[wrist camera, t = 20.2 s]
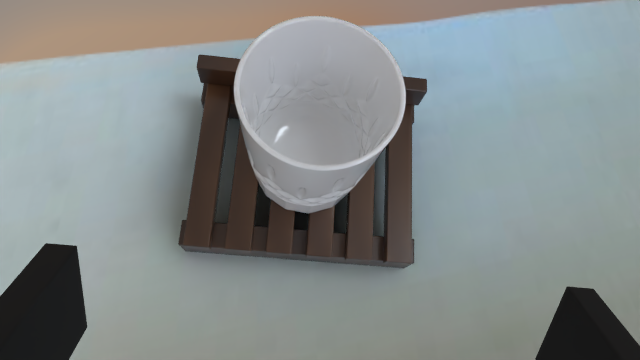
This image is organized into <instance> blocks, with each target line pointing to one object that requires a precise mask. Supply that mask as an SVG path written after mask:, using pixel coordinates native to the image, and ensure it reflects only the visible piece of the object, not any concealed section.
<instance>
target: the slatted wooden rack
mask: <svg viewBox="0 0 640 360" xmlns="http://www.w3.org/2000/svg"><path fill="white" fill-rule="evenodd" d="M240 60H241V59H236V58H226V57H217V56H208V55H199V56H198V62H197V70H198V74H199V77H200V81H201V83H204V86H203V92H202V98H201V101H202V105H203V108H204V110H203V117H202V123H201V130H200V136H199V143H198V149H197V156H196V162H195V169H194V175H193V182H192V188H191V194H190V201H189V207H188V214H187V220H182V225H181V232H180V238H179V245H180V246H181V247H182V248H183V249H184V250H185V251H191V252H203V253H216V254H229V255H242V256H254V257H267V258H280V259H293V260H305V261H318V262H331V263H344V264H357V265H369V266H382V267H395V268H405V267H407V266H409V265H411V264H413V263H414V239H412V124H413V123H414V105H419V103H420V102H421V100H422V99H423V97H424V95H425V94H426V92H427V80H426V79H420V78H411V77H403V79H404V84H405V91H406V104H405V111H404V115H403V119H402V121H401V124H400V126H399V128H398V130H397V132H396V134H395V135H394V137H393V138H392V140H391V141H390V142H389V143H388V145H387V146H386V153H385V201H384V237H383V236H373V212H374V176H375V162H374V163H373V165H372V166H371V167H370V169H369V170H368V171H367V173H366V174H365V175H364V176H363V177H362V179H361V180H360V181H359V182H358V183H357V184H356V186H355V187H354V188H353V189H352V190H351V191H350V192H349V193H348V196H347V217H346V233H335V232H334V213H335V205H334V206H333V207H332V208H328V209H324V210H320V211H317V212H313V213H309V214H308V228H307V230H299V229H294V220H295V211H292V210H286V209H284V208H283V207H281V206H280V205H279V204H277V203H276V202H274V201H273V200H271V202H270V213H269V223H268V227H263V226H254V224H255V215H256V205H257V196H258V187H259V182H258V180H257V179H256V177H255V175H254V170H253V168H252V165H251V162H250V159H249V156H248V153H247V149H246V146H245V142H244V138H243V133H242V129H241V125H240V129H239V136H238V144H237V152H236V160H235V168H234V176H233V184H232V192H231V200H230V208H229V216H228V224H226V223H215V216H216V209H217V201H218V194H219V187H220V179H221V172H222V164H223V157H224V150H225V142H226V135H227V127H228V120H229V118H235V119H239V117H238V113H237V109H236V104H235V99H234V80H235V74H236V70H237V67H238V64H239V62H240Z"/></svg>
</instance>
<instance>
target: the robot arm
mask: <svg viewBox="0 0 640 360" xmlns="http://www.w3.org/2000/svg"><path fill="white" fill-rule="evenodd" d="M86 328H87V321H86V314H85V306H84V298H83V290H82V283H81V275H80V267H79V260H78V252H77V246H71V245H59V244H47V243H46V244H45V245H44V246H43V247H42V248H41V250H40V251H39V252H38V253H37V254H36V255H35V257H34V258H33V259H32V260H31V261H30V262H29V264H28V265H27V266H26V267H25V268H24V269H23V271H22V272H21V273H20V274H19V275H18V276H17V278H16V279H15V280H14V281H13V282H12V283H11V285H10V286H9V287H8V288H7V289H6V290H5V292H4V293H3V294H2V295H1V296H0V360H69V358H70V356H71V355H72V353H73V351H74V349H75V348H76V346H77V344H78V342H79V341H80V339H81V337H82V335H83V334H84V332H85V330H86ZM536 360H640V346H639V345H638V343H637V342H636V341H635V340H634V338H633V337H632V336H631V335H630V333H629V332H628V331H627V330H626V329H625V327H624V326H623V325H622V324H621V322H620V321H619V320H618V319H617V317H616V316H615V315H614V314H613V312H612V311H611V310H610V309H609V308H608V306H607V305H606V304H605V303H604V301H603V300H602V299H601V298H600V296H599V295H598V294H597V293H596V291H595V290H594V289H589V288H577V287H567V288H566V290H565V292H564V295H563V297H562V299H561V301H560V304H559V306H558V308H557V311H556V313H555V315H554V317H553V320H552V322H551V324H550V327H549V329H548V331H547V333H546V336H545V338H544V340H543V343H542V345H541V347H540V350H539V352H538V354H537V356H536Z"/></svg>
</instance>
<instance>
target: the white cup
mask: <svg viewBox="0 0 640 360" xmlns="http://www.w3.org/2000/svg"><path fill="white" fill-rule="evenodd" d="M234 99H235V104H236V109H237V113H238V117H239V121H240V125H241V129H242V133H243V138H244V142H245V146H246V149H247V153H248V156H249V159H250V162H251V165H252V168H253V170H254V175H255V177H256V179H257V180H258V182H259V184H260V186H261V188H262V189H263V191H264V193H265V195H266V196H267V197H269V198H270V199H271V200H273V201H274V202H276V203H277V204H279V205H280V206H281V207H283V208H284V209H286V210H292V211H298V212H303V213H313V212H317V211H320V210H324V209H328V208H332V207H333V206H334V205H335V204H336V203H338V202H339V201H340V200H341V199H342V198H343V197H344V196H346V195H347V194H348V193H349V192H350V191H351V190H352V189H353V188H354V187H355V186H356V184H357V183H358V182H359V181H360V180H361V179H362V177H363V176H364V175H365V174H366V173H367V171H368V170H369V169H370V167H371V166H372V165H373V163H374V162H375V161H376V159H377V158H378V157H379V155H380V154H381V153H382V151H383V150H384V149H385V147H386V146H387V145H388V143H389V142H390V141H391V140H392V138H393V137H394V135H395V134H396V132H397V130H398V128H399V126H400V124H401V121H402V119H403V115H404V111H405V104H406V91H405V84H404V79H403V76H402V73H401V70H400V68H399V66H398V64H397V62H396V60H395V59H394V57H393V56H392V54H391V53H390V51H389V50H388V49H387V48H386V47H385V46H384V44H383V43H382V42H381V41H379V40H378V39H377V38H376V37H375V36H373V35H372V34H371V33H369V32H368V31H366V30H365V29H363V28H361V27H359V26H357V25H355V24H353V23H350V22H347V21H344V20H341V19H337V18H332V17H325V16H305V17H299V18H294V19H290V20H287V21H284V22H281V23H279V24H277V25H274V26H273V27H271V28H269V29H268V30H266V31H265V32H263V33H262V34H261V35H259V36H258V37H257V38H256V39H255V40H254V41H253V42H252V43H251V44H250V45H249V47H248V48H247V49H246V51H245V52H244V54H243V56H242V58H241V60H240V62H239V64H238V67H237V70H236V74H235V80H234Z"/></svg>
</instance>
